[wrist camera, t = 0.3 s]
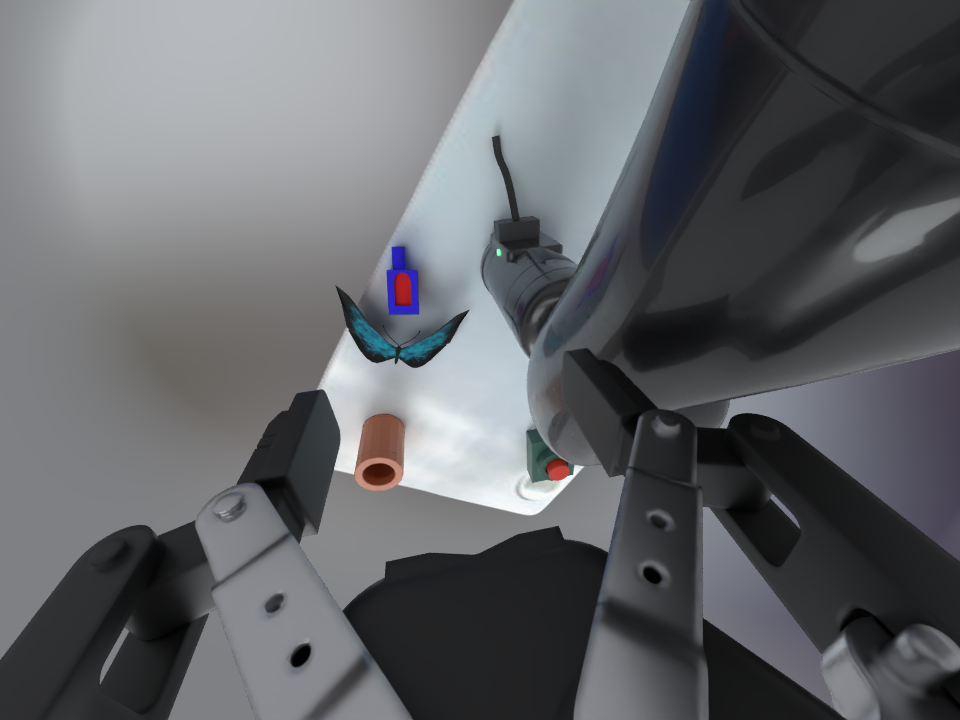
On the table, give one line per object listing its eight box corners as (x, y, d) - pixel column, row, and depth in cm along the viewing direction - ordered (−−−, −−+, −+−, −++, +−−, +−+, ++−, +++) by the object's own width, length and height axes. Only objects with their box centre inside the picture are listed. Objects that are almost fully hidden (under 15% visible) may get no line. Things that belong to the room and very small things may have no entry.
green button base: (526, 431, 63) (534, 451, 59) (569, 423, 64) (580, 442, 60) (527, 469, 68) (535, 490, 64) (566, 462, 69) (577, 482, 65)
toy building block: (417, 312, 47) (415, 249, 45) (419, 314, 43) (416, 245, 41) (390, 312, 46) (387, 248, 45) (388, 314, 42) (385, 244, 41)
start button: (546, 460, 61) (549, 468, 60) (566, 456, 62) (570, 464, 60) (546, 474, 63) (549, 482, 62) (565, 470, 63) (569, 478, 62)
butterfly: (328, 362, 47) (326, 310, 40) (336, 333, 50) (335, 280, 43) (453, 378, 52) (473, 334, 44) (453, 351, 55) (471, 305, 47)
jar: (357, 418, 56) (348, 462, 48) (399, 410, 56) (397, 453, 48) (368, 448, 59) (361, 494, 51) (407, 441, 60) (407, 485, 52)
